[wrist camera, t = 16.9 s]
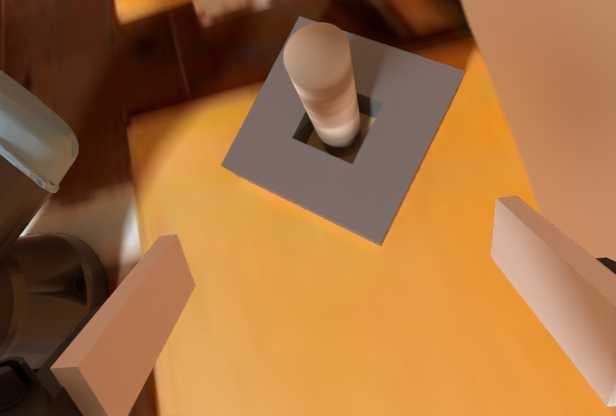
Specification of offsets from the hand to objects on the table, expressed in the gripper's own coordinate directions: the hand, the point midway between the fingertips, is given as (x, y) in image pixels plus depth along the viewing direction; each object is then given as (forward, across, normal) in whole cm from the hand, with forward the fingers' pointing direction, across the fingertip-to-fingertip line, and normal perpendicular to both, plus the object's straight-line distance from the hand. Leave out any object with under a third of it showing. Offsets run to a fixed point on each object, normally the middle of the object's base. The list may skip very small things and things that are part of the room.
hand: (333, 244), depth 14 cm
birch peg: (+21, +1, -1) cm, 21 cm away
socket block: (+22, +1, -2) cm, 22 cm away
